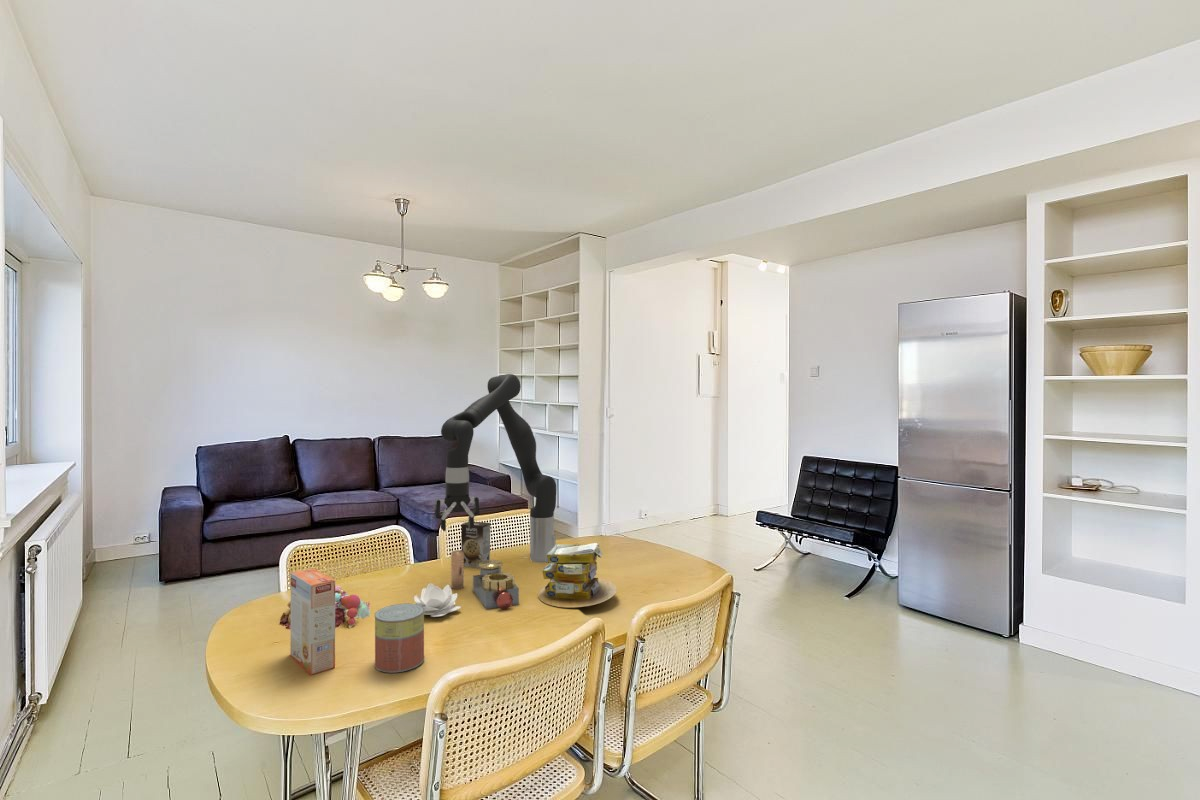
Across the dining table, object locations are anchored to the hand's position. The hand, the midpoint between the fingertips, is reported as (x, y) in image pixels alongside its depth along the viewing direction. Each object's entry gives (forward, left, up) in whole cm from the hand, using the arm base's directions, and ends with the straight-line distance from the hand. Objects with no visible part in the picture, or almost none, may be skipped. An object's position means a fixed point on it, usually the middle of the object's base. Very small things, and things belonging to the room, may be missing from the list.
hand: (457, 529), depth 193 cm
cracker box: (+42, +40, -20) cm, 61 cm away
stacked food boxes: (-37, +25, -23) cm, 50 cm away
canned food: (+23, +48, -20) cm, 57 cm away
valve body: (-9, +14, -19) cm, 26 cm away
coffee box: (-11, -22, -20) cm, 31 cm away
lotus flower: (+10, +20, -20) cm, 30 cm away
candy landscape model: (+39, +10, -20) cm, 45 cm away
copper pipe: (0, 0, -19) cm, 19 cm away
